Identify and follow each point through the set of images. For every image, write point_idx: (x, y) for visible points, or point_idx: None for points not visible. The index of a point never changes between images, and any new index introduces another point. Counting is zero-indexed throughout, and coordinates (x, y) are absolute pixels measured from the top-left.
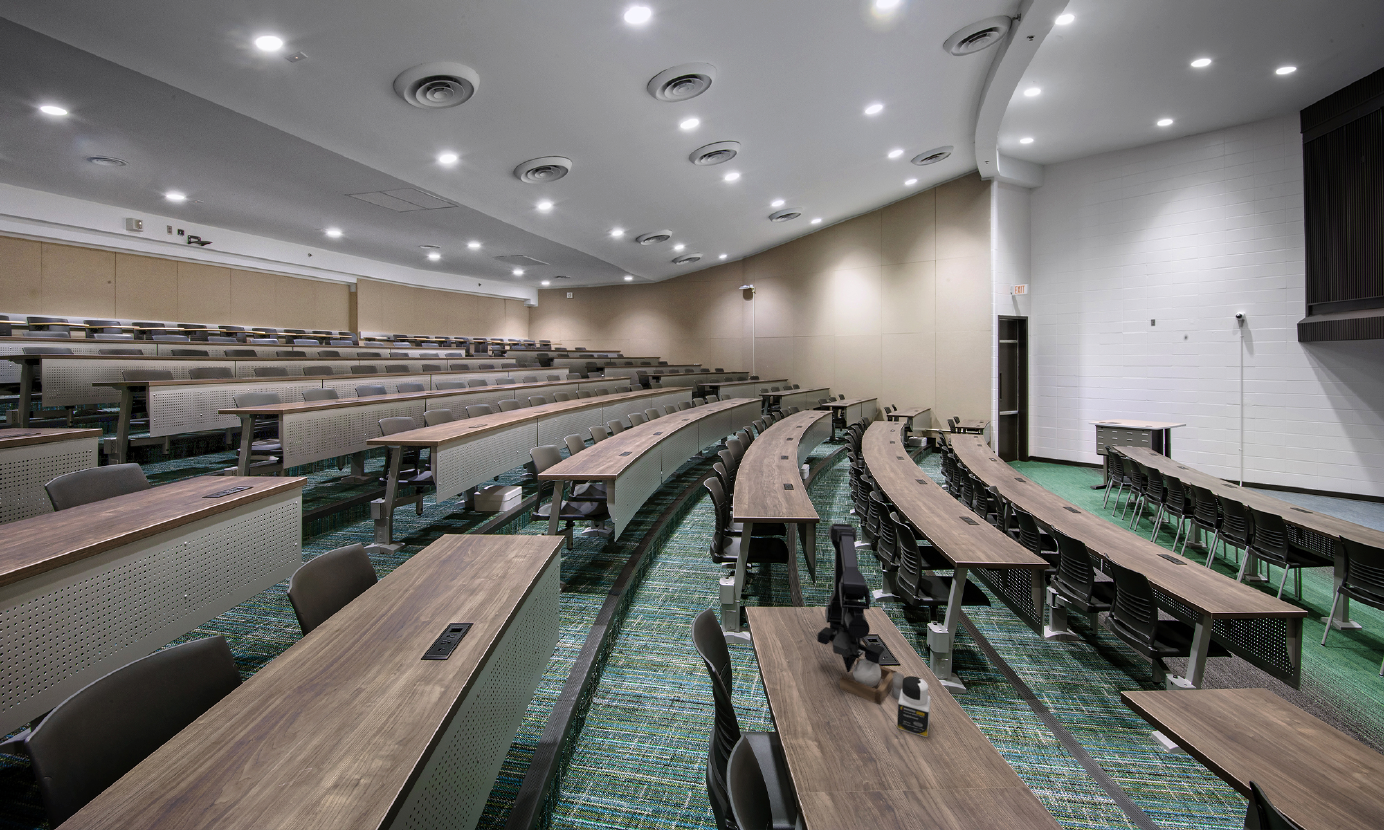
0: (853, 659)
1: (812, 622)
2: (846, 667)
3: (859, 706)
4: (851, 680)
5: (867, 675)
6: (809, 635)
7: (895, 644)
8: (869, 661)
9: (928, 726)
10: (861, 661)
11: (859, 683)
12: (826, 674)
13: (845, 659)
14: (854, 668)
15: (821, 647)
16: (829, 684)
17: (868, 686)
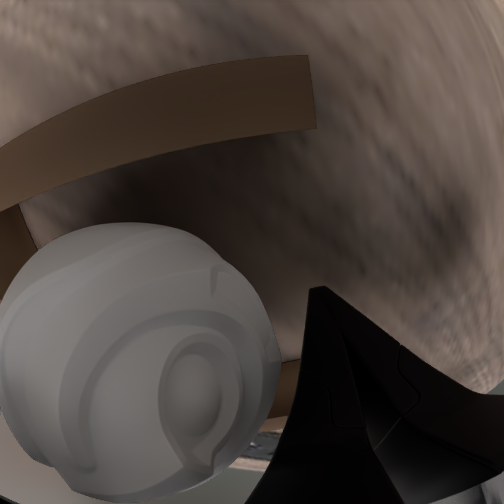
0: (284, 450)
1: (474, 389)
2: (346, 308)
3: (35, 22)
4: (163, 134)
5: (2, 303)
6: (490, 354)
7: (261, 469)
8: (78, 482)
9: None
10: (153, 468)
11: (66, 167)
12: (435, 182)
13: (398, 374)
14: (255, 343)
15: (465, 346)
16: (373, 67)
17: (1, 204)
